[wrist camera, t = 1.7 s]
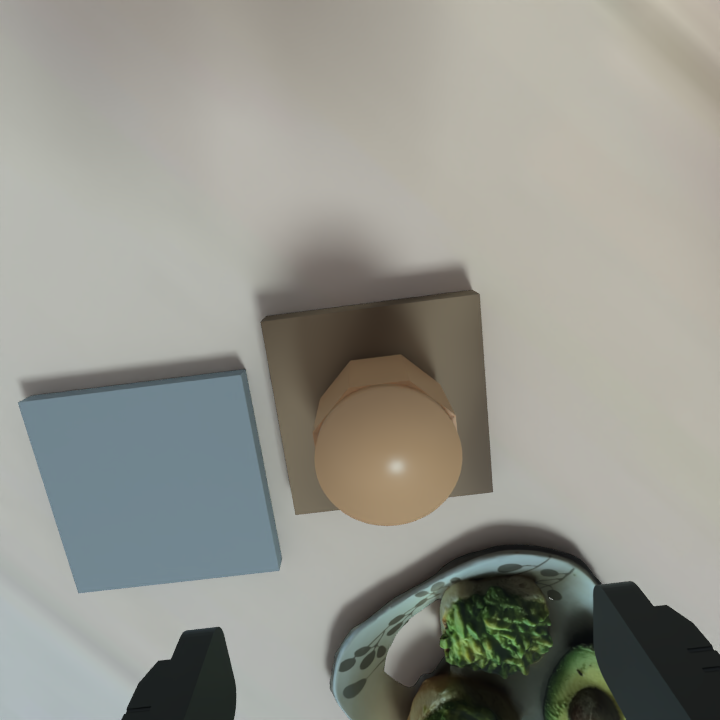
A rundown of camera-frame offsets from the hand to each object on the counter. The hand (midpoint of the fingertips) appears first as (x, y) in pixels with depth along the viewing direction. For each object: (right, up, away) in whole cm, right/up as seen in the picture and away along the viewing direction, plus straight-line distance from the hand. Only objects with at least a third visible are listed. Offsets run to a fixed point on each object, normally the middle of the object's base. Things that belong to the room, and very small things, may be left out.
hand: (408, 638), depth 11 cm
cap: (0, +3, +13) cm, 13 cm away
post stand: (0, +4, +15) cm, 15 cm away
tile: (-11, 0, +16) cm, 20 cm away
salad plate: (+7, -13, +20) cm, 25 cm away
